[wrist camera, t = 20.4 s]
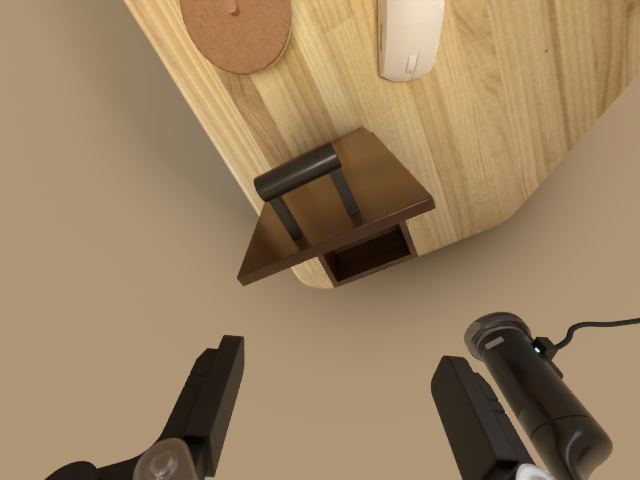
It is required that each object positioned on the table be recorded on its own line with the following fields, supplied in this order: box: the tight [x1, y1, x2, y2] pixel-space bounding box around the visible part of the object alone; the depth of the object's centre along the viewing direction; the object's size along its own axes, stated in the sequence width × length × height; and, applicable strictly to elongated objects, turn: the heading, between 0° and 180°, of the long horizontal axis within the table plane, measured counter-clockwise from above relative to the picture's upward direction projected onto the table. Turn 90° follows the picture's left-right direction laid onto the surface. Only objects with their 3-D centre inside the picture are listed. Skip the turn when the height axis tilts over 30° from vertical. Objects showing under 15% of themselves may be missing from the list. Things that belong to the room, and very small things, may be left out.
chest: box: [317, 127, 418, 288], centre depth 40 cm, size 18×13×9 cm
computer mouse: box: [378, 0, 444, 82], centre depth 31 cm, size 6×13×6 cm, turn 6°
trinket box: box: [180, 0, 292, 75], centre depth 30 cm, size 11×11×9 cm
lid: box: [237, 132, 435, 286], centre depth 23 cm, size 18×13×5 cm
